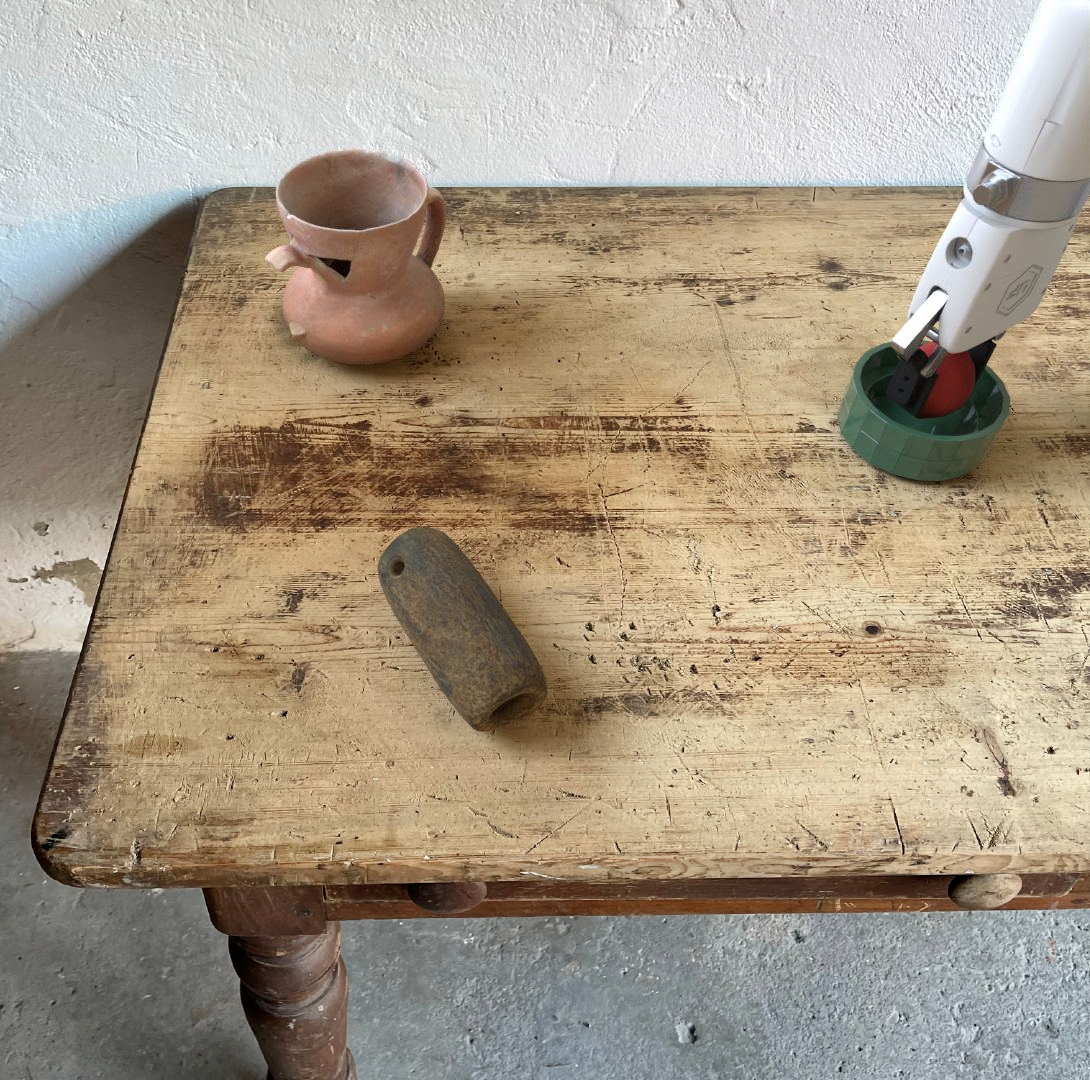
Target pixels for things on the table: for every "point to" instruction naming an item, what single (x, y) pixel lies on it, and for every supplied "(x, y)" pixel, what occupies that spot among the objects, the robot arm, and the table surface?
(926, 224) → the table surface
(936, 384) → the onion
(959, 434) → the bowl
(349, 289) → the ceramic jug
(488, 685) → the stone weight
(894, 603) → the table surface
